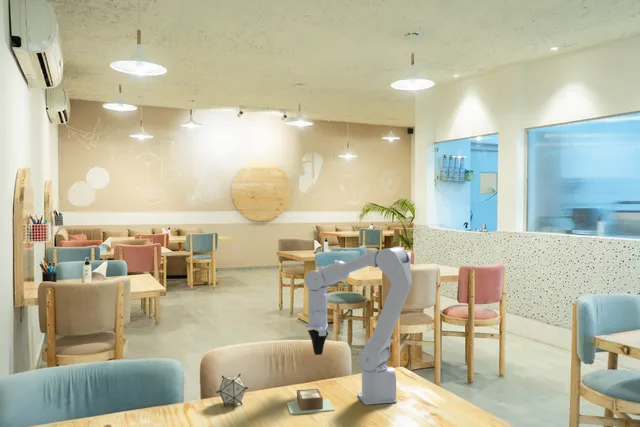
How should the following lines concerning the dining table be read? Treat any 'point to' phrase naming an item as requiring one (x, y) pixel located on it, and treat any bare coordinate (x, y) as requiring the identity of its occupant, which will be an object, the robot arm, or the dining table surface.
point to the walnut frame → (309, 399)
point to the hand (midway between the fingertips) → (318, 354)
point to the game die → (232, 390)
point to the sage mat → (296, 409)
